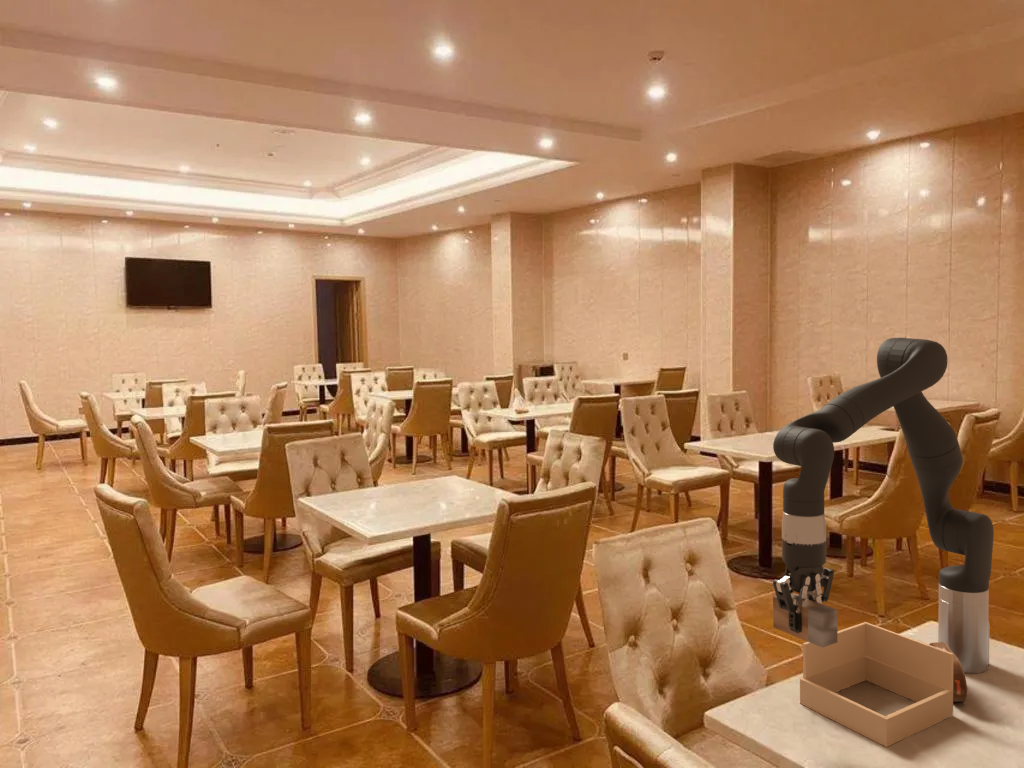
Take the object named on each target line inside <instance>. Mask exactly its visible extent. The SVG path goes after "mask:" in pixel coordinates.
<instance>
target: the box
mask: <svg viewBox="0 0 1024 768" xmlns="http://www.w3.org/2000/svg"><path fill="white" fill-rule="evenodd" d="M785 603H786V602H785ZM793 604H794V605H796V599H794V602H793ZM801 613H802V631H801V632H800V633H796V632H794V631H791V630H790V628H789V612H788V611H787V610H784V609H781V608H780V607H779V604H778V600H777V596H776V595H773V596H772V623H773V626H772V627H773V628H774V629H776V630H778V631H782V632H783V633H785V634H788V635H791V636H793V637H796V638H798V639H800V640H803V641H805V642H810V643H812V644H815V645H817V646H819V647H822V648H823V647H826V646H829V645H831V644H834V643H837V631H838V609H837V608H833V607H831V606H828V605H825V604H823V603H822V604H820V603H817V602H815V601H812V600H809V599H806V600H805V601H803V604H802V610H801Z"/></svg>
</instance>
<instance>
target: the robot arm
mask: <svg viewBox="0 0 1024 768" xmlns="http://www.w3.org/2000/svg"><path fill="white" fill-rule="evenodd" d="M876 353H877V355H876V364H877V366H876V367H877V370H878V374H879V376H880V377H879V378H877V379H874V380H872V381H868V382H866V383H865V382H864V383H862V384H860V385H857V386H854V387H852V388H851V387H850V388H849V389H848V390H846V391H843V392H842V393H840V394H838V395H837V396H835V397H834V398H833V399H832V400H830V401H829V402H827V403H826V404H824V405H823V406H822V407H821V408H820V409H818V410H816V411H814V412H812V413H811V412H810V413H808V414H806V415H803V416H801V417H800V418H797V419H794V420H793V421H791V422H789V423H787V424H785V426H783V427H782V428H780V430H779V431H778V432H777V433H776V436H775V437H774V440H773V443H772V445H773V447H772V448H773V449H772V450H773V453H774V454H775V456H776V458H777V459H778V460H780V461H781V462H783V463H785V464H787V465H788V464H789V465H792V466H798V467H800V471H799V475H798V477H792V478H790V479H789V478H788V479H787V480H786V481H784V484H783V487H782V488H783V489H782V518H781V519H782V520H781V559H782V561H783V562H784V564H785V571H784V576H783V577H782V578H780V579H774V580H773V581H772V585H773V588H774V591H775V596H777V600H778V604H779V607H780V608H781V609H784V610H787V611H788V612H789V628H790V630H791V631H794V632H796V633H800V632H801V631H802V613H801V610H802V604H803V601H805V600H806V599H809V600H812V601H815V602H817V603H820V604H823V603H824V602H828V600H829V599H830V594H831V593H830V592H831V588H832V584H833V579H834V575H835V571H834V569H832V568H828V567H825V566H824V565H825V564H826V563H827V523H826V517H825V490H826V486H827V484H828V480H829V476H830V474H831V473H830V472H831V469H832V466H833V462H834V459H835V458H834V457H835V446H834V443H841V442H843V441H845V440H847V439H848V438H850V437H851V436H853V434H855V433H856V432H858V430H860V429H861V428H862V427H864V426H865V425H866V424H868V423H869V422H870V421H871V420H873V419H874V418H876V417H878V416H879V415H881V414H882V413H884V412H886V411H888V410H890V409H891V408H893V409H894V411H895V414H896V416H897V419H898V422H899V426H900V427H901V428H900V429H901V430H902V433H903V437H904V441H905V445H906V449H907V451H908V455H909V458H910V461H911V464H912V466H913V469H914V472H915V475H916V478H917V481H918V485H919V489H920V491H921V496H922V500H923V506H924V510H925V516H926V521H927V527H928V531H929V535H930V539H931V541H932V543H933V544H934V546H935V547H937V548H938V549H940V550H941V551H945V552H949V553H952V554H957V555H962V556H964V564H959V565H949V566H945V567H943V568H941V569H940V570H939V572H938V626H937V627H938V628H937V629H938V630H937V631H938V633H937V634H938V635H937V636H938V637H937V642H945V643H946V644H947V646H948V647H949V648H950V649H951V651H952V652H953V653H954V654H955V656H956V657H957V658H958V659H959V661H960V663H961V665H962V668H963V670H964V673H965V674H966V673H967V674H968V673H969V674H975V673H976V674H977V673H979V674H980V673H983V672H985V671H987V670H988V665H989V663H990V630H991V629H990V626H991V624H990V620H989V609H990V608H989V605H990V604H989V602H990V601H989V600H990V599H989V598H990V597H989V595H990V594H989V593H990V591H989V589H990V578H991V574H992V562H993V550H994V549H993V548H994V536H995V535H994V533H995V532H994V525H993V522H992V519H991V518H990V517H989V516H988V515H986V514H984V513H980V512H974V511H970V510H969V511H968V510H963V509H962V510H961V509H959V508H954V507H953V505H952V504H951V501H950V496H949V494H950V493H949V492H950V489H951V487H952V486H953V484H954V482H955V481H956V480H957V477H958V476H959V475H960V472H961V470H962V467H963V463H964V461H963V460H964V459H963V453H962V450H961V447H960V443H959V439H958V437H957V436H958V435H957V434H956V432H955V430H954V428H953V427H952V426H951V424H950V423H949V422H948V420H947V419H946V418H945V417H944V416H943V415H942V414H941V413H940V412H939V411H938V410H937V409H936V407H935V406H934V405H932V404H931V402H930V401H929V400H928V399H927V398H926V396H925V395H924V393H923V391H926V390H927V389H929V388H931V387H933V386H935V385H936V384H937V383H938V382H939V381H941V379H942V378H943V377H944V375H945V373H946V370H947V369H948V364H949V363H948V358H949V357H948V353H947V351H946V349H945V347H944V346H943V344H941V343H939V342H937V341H935V340H930V339H924V338H922V339H921V338H908V337H891V338H887V339H885V340H884V341H883V342H882V343H881V344H880V346H879V348H878V350H877V352H876ZM822 587H823V591H822ZM794 599H796V605H794V604H793V602H794ZM785 602H786V603H785Z"/></svg>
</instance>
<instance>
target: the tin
mask: <svg viewBox="0 0 1024 768" xmlns="http://www.w3.org/2000/svg"><path fill="white" fill-rule="evenodd" d="M928 645H931V646H934V647H936V648H939V649H942V650H945V651H948V652H950V653H953V652H952V651H951V649H950V648H949V647H948V646H947V644H946V643H945V642H938V641H937V642H930V643H929V644H928ZM953 654H954V653H953ZM967 698H968V685H967V678H966V673H965V672H964V670H963V668H962V665H961V663H960V661H959V659H958V658H957V657H956V656H955V654H954V655H953V703H955V702H960V703H965V702H966V701H967Z"/></svg>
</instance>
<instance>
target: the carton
mask: <svg viewBox="0 0 1024 768" xmlns="http://www.w3.org/2000/svg"><path fill="white" fill-rule="evenodd" d="M953 655H954V654H953V653H950V652H948V651H945V650H942V649H939V648H936V647H934V646H931V645H929V644H927V643H924V642H921V641H919V640H918V639H917V640H916V639H914V638H910V637H908V636H906V635H903V634H900V633H897V632H894V631H892V630H890V629H886V628H884V627H881V626H877V625H875V624H872V623H870V622H866V621H863V622H861V623H858V624H855V625H852V626H849V627H847V628H843V629H840V630H839V631H838V630H837V643H834V644H831V645H829V646H826V647H823V648H822V647H819V646H817V645H815V644H812V643H810V642H807V641H805V642H803V643H802V677H800V678H799V704H801V705H802V706H804V707H807V708H808V709H810V710H812V711H814V712H816V713H818V714H820V715H822V716H824V717H826V718H828V719H831V720H832V721H833V722H837V723H838V724H840V725H842V726H844V727H846V728H848V729H850V730H851V731H854V732H856V733H858V734H859V735H862V736H864V737H866V738H868V739H870V740H872V741H874V742H876V743H878V744H880V745H882V746H883V747H886V748H888V747H889V746H891V745H894V744H896V743H898V742H900V741H902V740H905V739H906V738H909V737H911V736H912V735H915V734H916V733H919V732H921V731H922V730H923V731H924V730H926V729H927V728H930V727H932V726H934V725H935V724H937V723H940V722H942V721H944V720H943V719H945V720H947V719H949V718H951V717H952V716H954V713H953V712H954V702H953ZM866 681H867V682H868V683H871V684H874V685H876V686H878V687H881V688H882V689H886V690H887V691H891V692H893V693H895V694H897V695H900V696H902V697H904V698H906V699H908V698H909V699H908V700H910V699H911V700H910V701H912V702H913V701H914V703H912V704H910V705H907V706H905V707H904V708H901V709H898V710H897V711H893V712H892V713H889V714H887V715H884V714H881V713H879V712H877V711H875V710H872V709H871V708H868V707H866V706H864V705H862V704H860V703H858V702H856V701H855V700H854V701H853V700H851V699H849V698H847V697H845V696H843V695H841V694H838V692H840V691H842V690H845V689H847V688H849V687H852V686H855V685H857V684H860V683H862V682H866ZM950 716H951V717H950ZM948 717H949V718H948ZM946 718H947V719H946Z"/></svg>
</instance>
